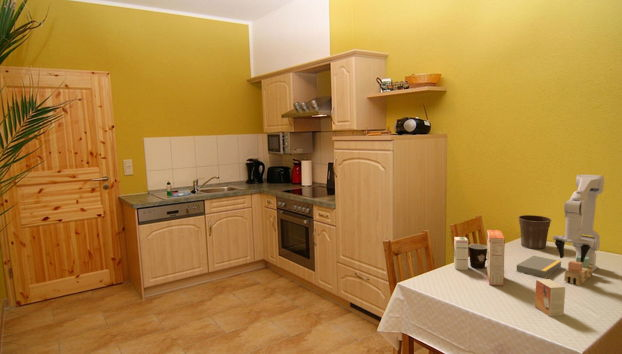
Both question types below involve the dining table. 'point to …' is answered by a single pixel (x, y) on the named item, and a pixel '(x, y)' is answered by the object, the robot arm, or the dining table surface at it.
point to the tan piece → (578, 275)
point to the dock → (539, 266)
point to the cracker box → (495, 257)
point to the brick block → (575, 266)
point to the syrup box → (461, 253)
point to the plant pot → (534, 231)
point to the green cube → (586, 261)
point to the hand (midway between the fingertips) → (571, 259)
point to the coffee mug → (477, 255)
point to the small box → (550, 297)
